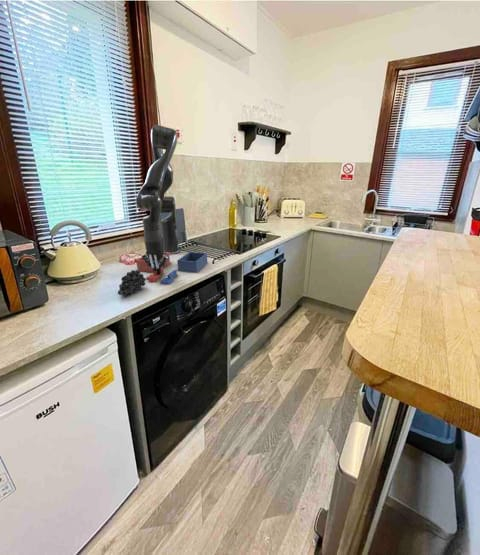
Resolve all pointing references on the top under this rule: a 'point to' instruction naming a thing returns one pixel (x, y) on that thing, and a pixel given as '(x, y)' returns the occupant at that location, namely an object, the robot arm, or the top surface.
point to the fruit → (131, 282)
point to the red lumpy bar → (154, 275)
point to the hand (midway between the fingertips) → (157, 274)
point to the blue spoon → (169, 277)
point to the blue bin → (192, 262)
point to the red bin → (144, 267)
